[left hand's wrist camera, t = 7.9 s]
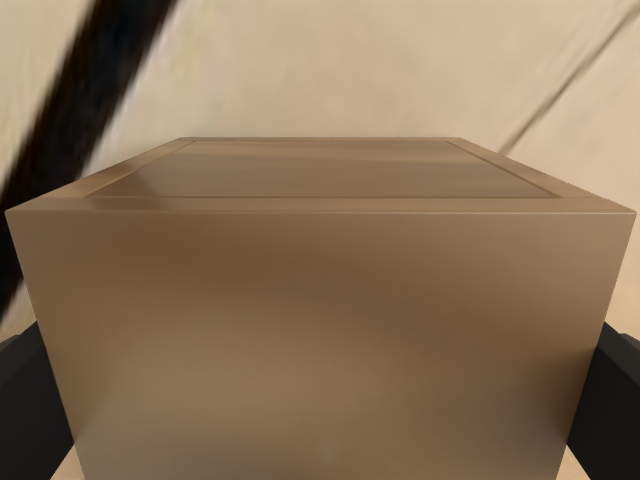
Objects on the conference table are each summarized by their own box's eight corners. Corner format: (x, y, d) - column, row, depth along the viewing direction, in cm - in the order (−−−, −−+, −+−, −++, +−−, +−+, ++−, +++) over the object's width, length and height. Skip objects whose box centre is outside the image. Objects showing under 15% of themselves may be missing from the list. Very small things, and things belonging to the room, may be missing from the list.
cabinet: (416, 495, 24) (474, 749, 15) (224, 495, 24) (165, 748, 15) (461, 137, 16) (639, 211, 7) (179, 137, 16) (2, 210, 7)
